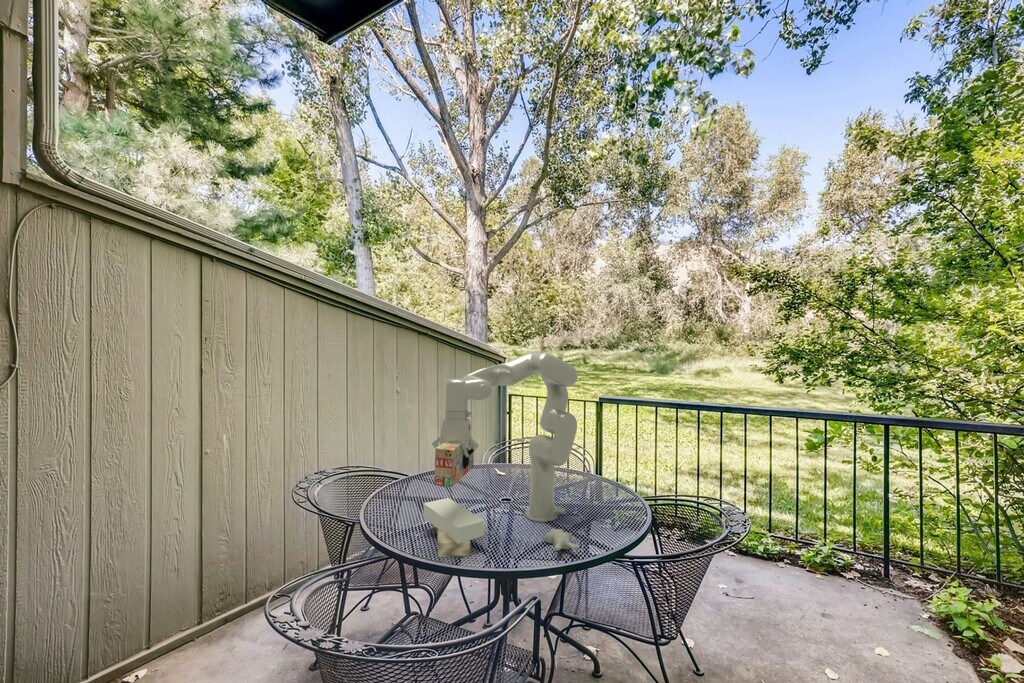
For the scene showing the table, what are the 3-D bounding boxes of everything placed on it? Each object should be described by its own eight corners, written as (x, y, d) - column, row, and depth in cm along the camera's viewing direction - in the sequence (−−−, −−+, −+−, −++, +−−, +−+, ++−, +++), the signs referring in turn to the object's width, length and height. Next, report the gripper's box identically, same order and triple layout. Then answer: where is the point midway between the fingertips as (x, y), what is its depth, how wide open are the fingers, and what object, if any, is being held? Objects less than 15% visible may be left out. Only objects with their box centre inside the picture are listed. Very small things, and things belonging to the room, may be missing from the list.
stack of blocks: (457, 465, 165) (458, 432, 165) (473, 467, 164) (474, 434, 164) (434, 485, 145) (435, 447, 144) (452, 487, 143) (453, 449, 143)
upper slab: (448, 511, 166) (448, 497, 166) (484, 535, 147) (484, 520, 147) (423, 517, 160) (423, 503, 160) (457, 543, 141) (458, 528, 141)
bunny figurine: (567, 525, 159) (581, 539, 144) (567, 540, 159) (581, 556, 144) (541, 526, 157) (552, 541, 143) (541, 541, 157) (552, 557, 142)
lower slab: (464, 524, 167) (464, 511, 167) (469, 557, 143) (470, 541, 143) (437, 525, 165) (437, 512, 165) (438, 558, 141) (438, 543, 141)
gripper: (483, 414, 156) (481, 465, 157) (433, 411, 157) (432, 462, 158) (479, 418, 149) (478, 472, 149) (428, 416, 150) (426, 469, 150)
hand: (454, 466), depth 153 cm, fingers closed on stack of blocks, 6 cm apart
